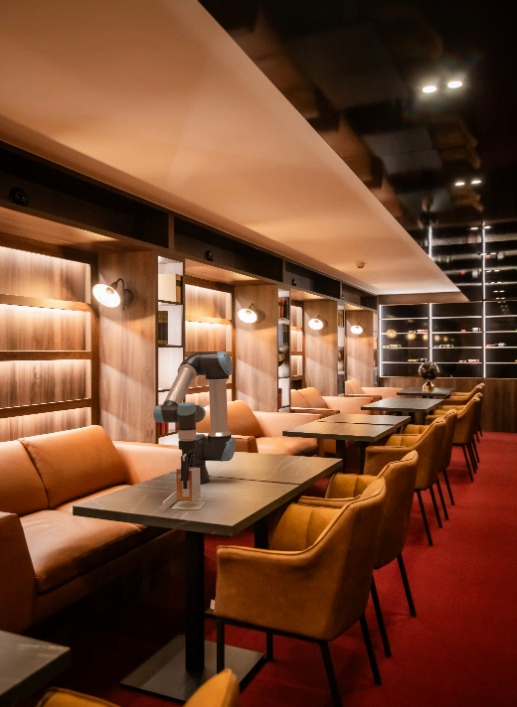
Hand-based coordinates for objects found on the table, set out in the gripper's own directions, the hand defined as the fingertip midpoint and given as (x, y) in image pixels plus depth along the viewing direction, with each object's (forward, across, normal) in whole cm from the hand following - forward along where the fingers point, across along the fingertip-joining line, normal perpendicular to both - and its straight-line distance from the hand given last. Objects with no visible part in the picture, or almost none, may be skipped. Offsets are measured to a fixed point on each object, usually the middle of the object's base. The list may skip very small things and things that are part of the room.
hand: (188, 493), depth 248 cm
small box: (+2, 0, 0) cm, 2 cm away
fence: (+5, 0, -8) cm, 9 cm away
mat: (+5, 0, 0) cm, 5 cm away
